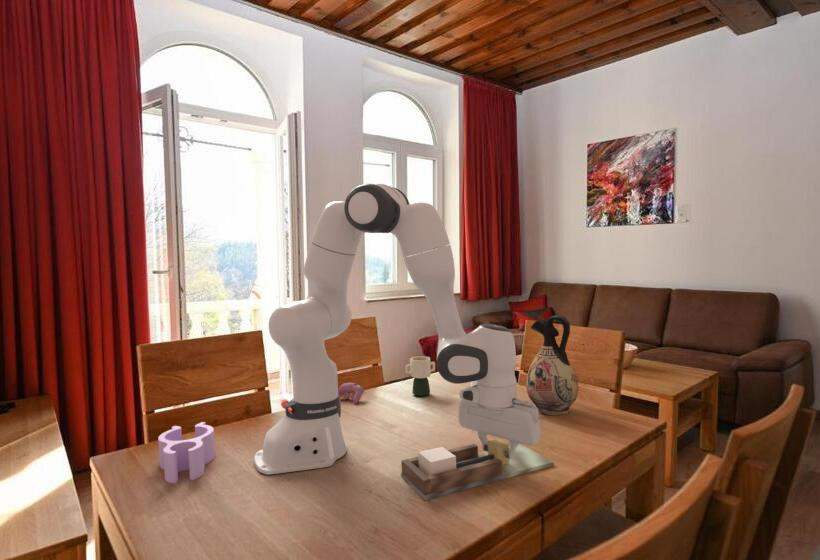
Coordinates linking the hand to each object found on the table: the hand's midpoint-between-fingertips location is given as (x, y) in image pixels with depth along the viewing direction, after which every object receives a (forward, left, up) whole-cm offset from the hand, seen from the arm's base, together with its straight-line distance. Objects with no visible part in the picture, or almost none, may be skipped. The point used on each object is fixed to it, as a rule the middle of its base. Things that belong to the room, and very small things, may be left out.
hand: (498, 454), depth 112 cm
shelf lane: (-5, 0, -3) cm, 6 cm away
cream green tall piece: (+10, +60, -3) cm, 61 cm away
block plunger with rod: (-9, 0, -2) cm, 9 cm away
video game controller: (-14, +67, -3) cm, 69 cm away
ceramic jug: (+37, +23, -3) cm, 44 cm away
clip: (-65, +37, -3) cm, 75 cm away
